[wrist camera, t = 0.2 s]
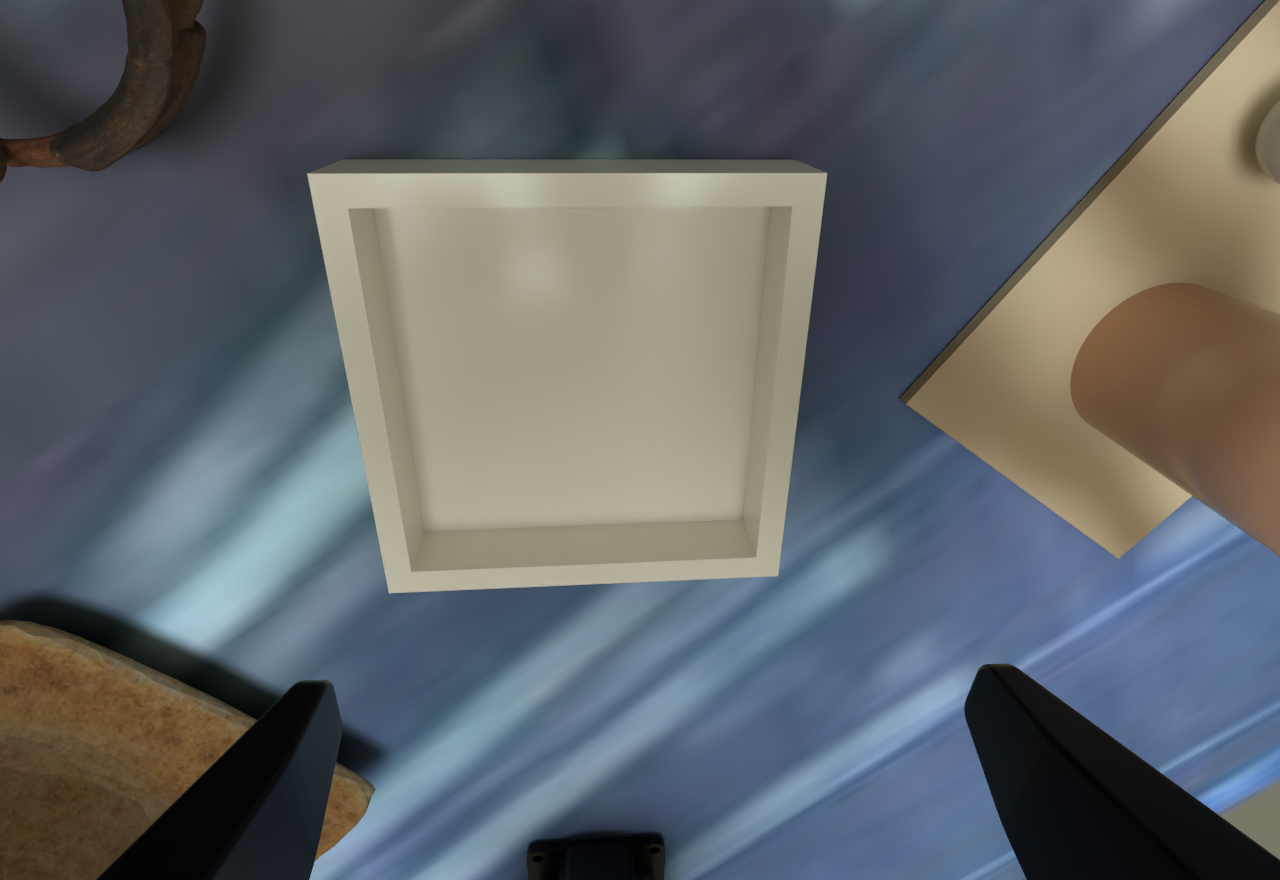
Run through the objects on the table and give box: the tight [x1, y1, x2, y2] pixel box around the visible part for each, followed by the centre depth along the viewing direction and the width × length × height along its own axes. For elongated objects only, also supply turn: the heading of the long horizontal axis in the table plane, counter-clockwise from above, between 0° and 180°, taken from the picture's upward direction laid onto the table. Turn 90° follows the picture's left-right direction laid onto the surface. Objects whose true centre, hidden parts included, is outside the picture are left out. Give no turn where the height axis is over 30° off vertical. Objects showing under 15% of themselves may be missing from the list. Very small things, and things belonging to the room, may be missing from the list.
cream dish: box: [307, 159, 827, 593], centre depth 22 cm, size 13×13×3 cm
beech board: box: [900, 0, 1280, 559], centre depth 23 cm, size 16×12×1 cm
